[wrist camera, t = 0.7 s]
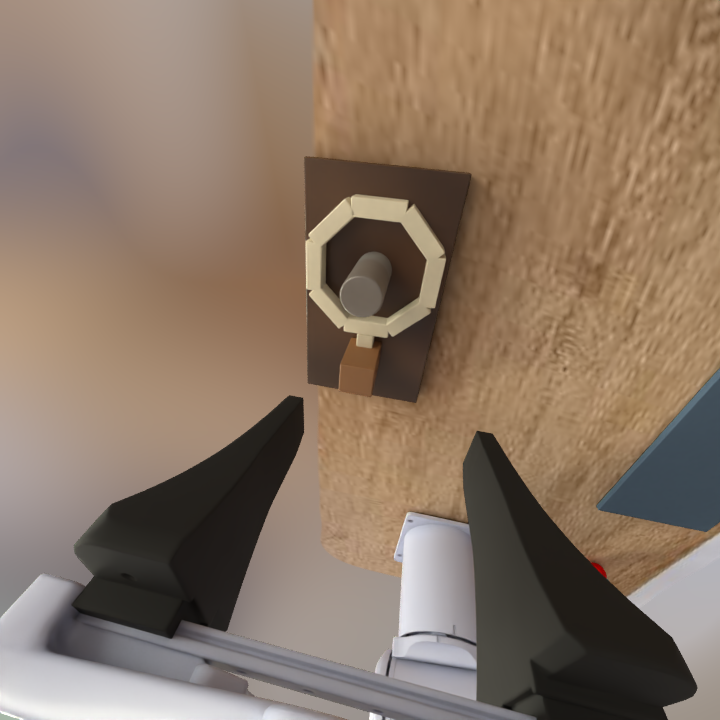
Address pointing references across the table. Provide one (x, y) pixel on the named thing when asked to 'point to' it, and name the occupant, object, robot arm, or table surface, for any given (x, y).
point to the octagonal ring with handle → (363, 350)
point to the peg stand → (378, 265)
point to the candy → (600, 569)
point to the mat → (677, 469)
